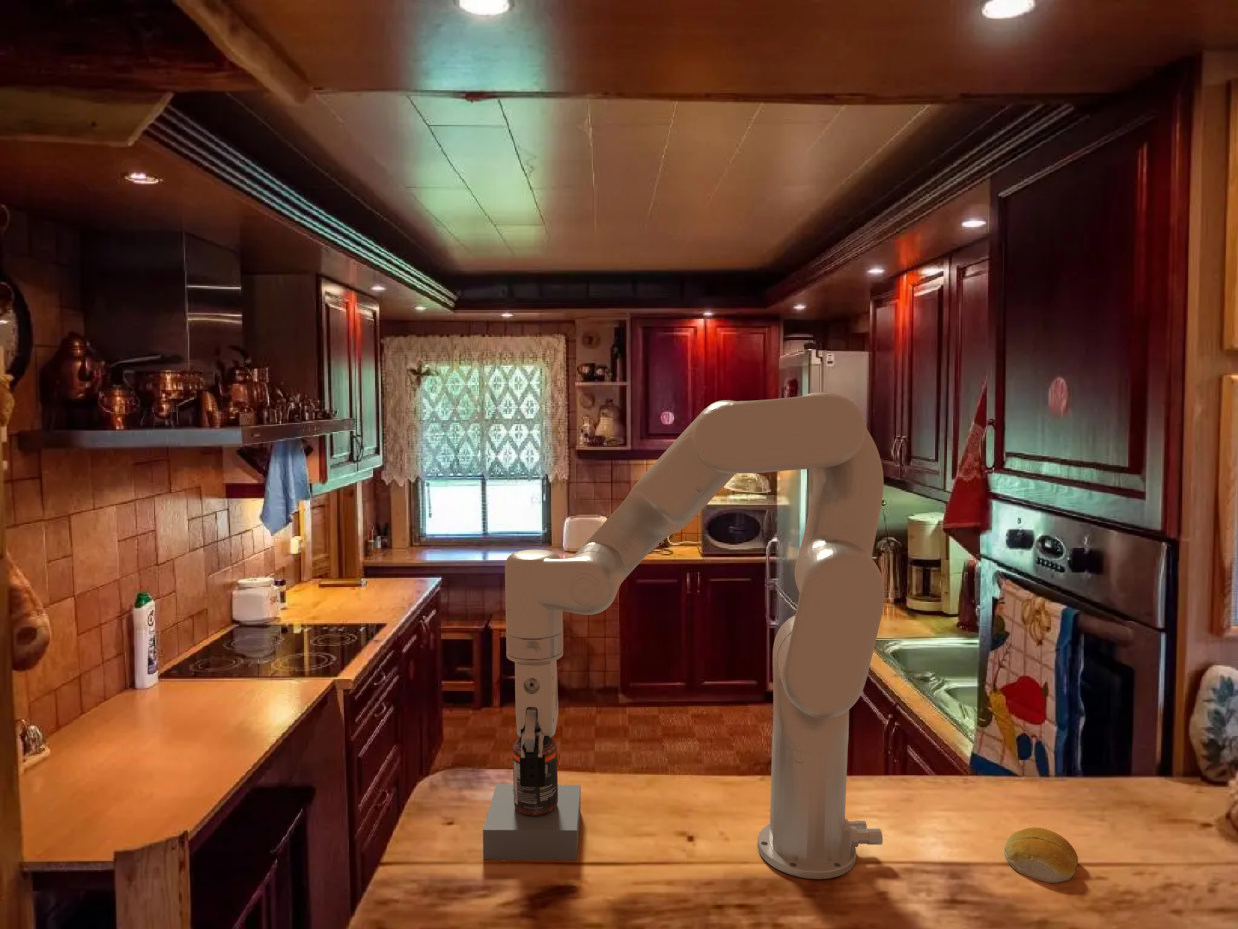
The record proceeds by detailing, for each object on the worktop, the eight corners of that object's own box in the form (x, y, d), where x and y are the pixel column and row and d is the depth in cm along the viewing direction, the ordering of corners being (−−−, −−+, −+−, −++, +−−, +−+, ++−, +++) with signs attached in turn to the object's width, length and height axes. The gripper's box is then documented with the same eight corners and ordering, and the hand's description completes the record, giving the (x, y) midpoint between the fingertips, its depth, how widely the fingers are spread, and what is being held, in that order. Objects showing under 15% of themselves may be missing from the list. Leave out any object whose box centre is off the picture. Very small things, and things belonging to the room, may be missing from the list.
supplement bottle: (532, 791, 115) (531, 713, 114) (566, 803, 112) (566, 723, 111) (504, 810, 110) (503, 728, 109) (539, 823, 107) (538, 739, 106)
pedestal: (580, 811, 118) (580, 785, 117) (576, 860, 106) (576, 830, 105) (496, 811, 118) (496, 784, 117) (483, 859, 106) (482, 830, 105)
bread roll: (1079, 858, 107) (1082, 829, 107) (1071, 893, 100) (1073, 862, 100) (1011, 838, 112) (1012, 810, 112) (997, 869, 105) (999, 839, 104)
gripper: (558, 666, 100) (560, 800, 102) (566, 625, 118) (567, 740, 119) (497, 666, 100) (499, 800, 102) (514, 625, 118) (516, 740, 119)
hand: (536, 768), depth 111 cm, fingers open, 9 cm apart
